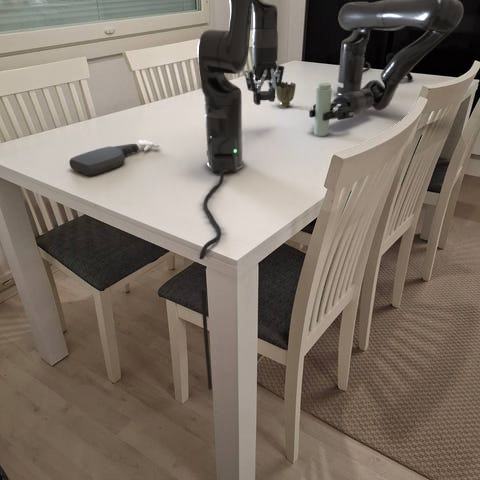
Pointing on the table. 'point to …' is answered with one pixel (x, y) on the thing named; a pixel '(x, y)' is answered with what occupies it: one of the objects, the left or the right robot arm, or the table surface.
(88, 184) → the table surface
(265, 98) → the lid
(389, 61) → the squiggle
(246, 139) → the table surface
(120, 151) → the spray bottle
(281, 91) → the cup
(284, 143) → the table surface
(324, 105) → the jar
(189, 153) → the table surface
